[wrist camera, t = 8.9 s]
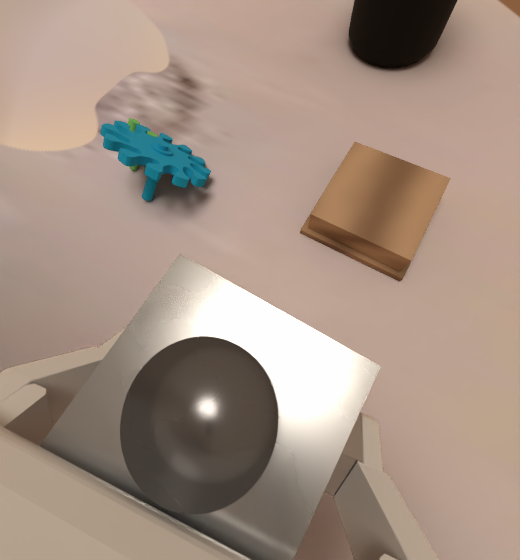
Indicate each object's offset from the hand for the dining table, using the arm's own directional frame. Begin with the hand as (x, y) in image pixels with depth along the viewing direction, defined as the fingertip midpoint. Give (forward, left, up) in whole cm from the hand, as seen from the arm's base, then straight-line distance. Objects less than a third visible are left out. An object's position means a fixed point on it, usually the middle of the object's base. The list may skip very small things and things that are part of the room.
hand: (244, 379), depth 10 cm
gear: (-19, +12, -15) cm, 27 cm away
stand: (+1, +18, -14) cm, 23 cm away
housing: (0, -1, -5) cm, 5 cm away
